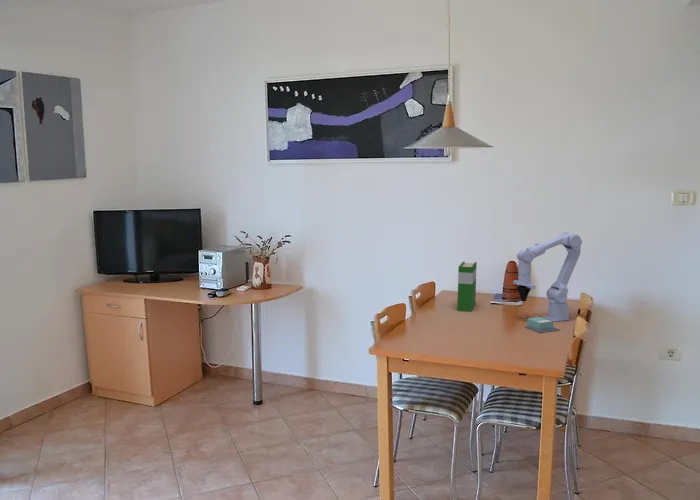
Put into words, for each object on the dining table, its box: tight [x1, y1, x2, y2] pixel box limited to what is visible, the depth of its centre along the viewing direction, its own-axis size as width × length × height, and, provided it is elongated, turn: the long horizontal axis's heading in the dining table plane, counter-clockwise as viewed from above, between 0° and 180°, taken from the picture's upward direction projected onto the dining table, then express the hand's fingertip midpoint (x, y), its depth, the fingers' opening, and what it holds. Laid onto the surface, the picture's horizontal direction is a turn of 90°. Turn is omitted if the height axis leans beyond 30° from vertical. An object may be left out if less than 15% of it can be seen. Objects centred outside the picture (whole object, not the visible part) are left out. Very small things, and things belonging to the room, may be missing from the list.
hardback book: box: [456, 261, 477, 313], centre depth 330 cm, size 18×7×24 cm, turn 162°
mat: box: [524, 325, 561, 334], centre depth 290 cm, size 12×11×1 cm
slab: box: [526, 316, 554, 330], centre depth 291 cm, size 8×4×9 cm
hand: (523, 300), depth 301 cm, fingers closed
